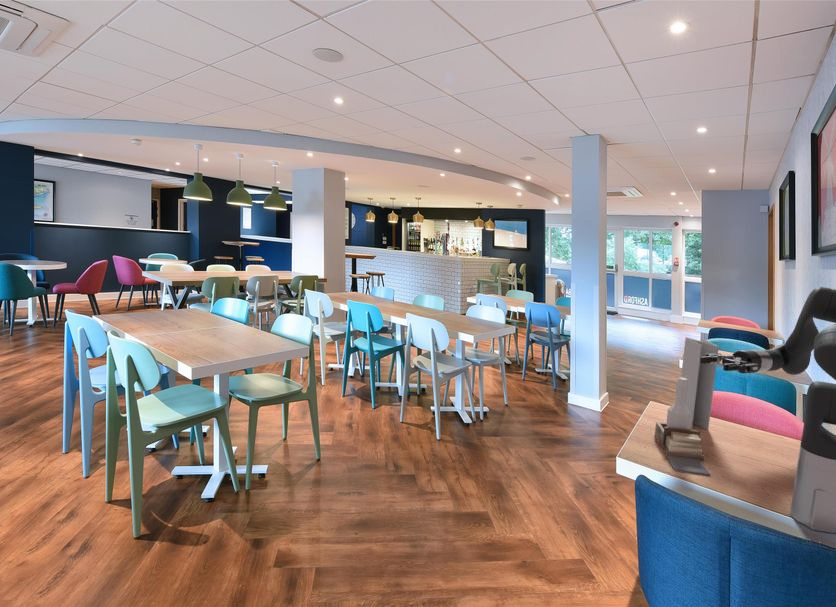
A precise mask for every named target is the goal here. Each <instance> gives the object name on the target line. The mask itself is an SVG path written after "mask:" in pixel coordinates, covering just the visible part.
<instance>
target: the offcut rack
mask: <svg viewBox="0 0 836 607" xmlns="http://www.w3.org/2000/svg"><path fill="white" fill-rule="evenodd" d="M654 429H655V430H654V438H655V439H656V441H657V443H658V444H659V446H660V447H661V449H662V450H663V452H664V453H665V456H666V455H669V456H677V457H684V458H692V459H699V460H700V461H701V462H704V461H705V458H706V457H705V455H704V454H703V449H702V448H701V444H702V439H701V431H700V430H695V429H693V427H692V428H691V427H690V426H689V429H680V428H671V427H667V422H660V421H656V422H655V428H654Z"/></svg>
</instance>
